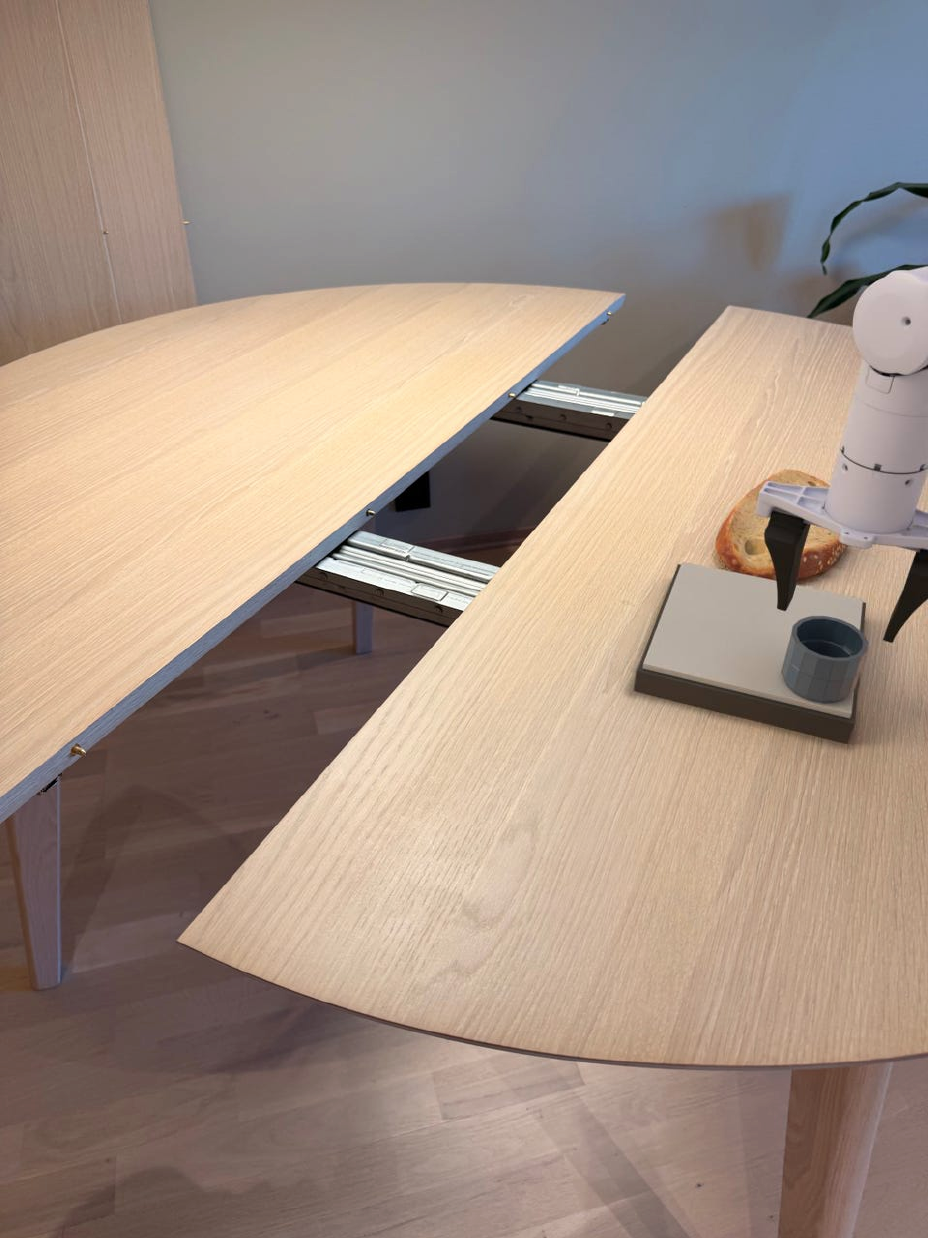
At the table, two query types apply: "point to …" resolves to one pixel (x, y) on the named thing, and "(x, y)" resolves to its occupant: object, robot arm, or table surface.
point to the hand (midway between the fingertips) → (836, 618)
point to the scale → (741, 649)
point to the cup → (824, 659)
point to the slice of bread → (745, 536)
